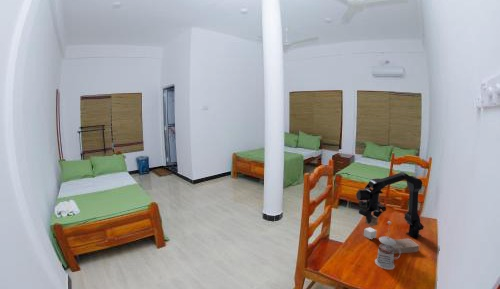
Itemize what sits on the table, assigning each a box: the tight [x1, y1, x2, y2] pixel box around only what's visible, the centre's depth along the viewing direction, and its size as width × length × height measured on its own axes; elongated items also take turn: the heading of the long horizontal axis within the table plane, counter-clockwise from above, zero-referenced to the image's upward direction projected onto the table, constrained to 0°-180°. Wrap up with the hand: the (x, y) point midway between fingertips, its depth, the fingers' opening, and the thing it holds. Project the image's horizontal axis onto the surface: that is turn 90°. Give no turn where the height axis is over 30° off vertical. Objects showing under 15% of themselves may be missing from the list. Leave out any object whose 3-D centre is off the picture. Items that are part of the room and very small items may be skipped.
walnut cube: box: [364, 213, 379, 227], centre depth 166 cm, size 5×5×5 cm
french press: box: [374, 220, 402, 270], centre depth 139 cm, size 10×12×25 cm
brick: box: [391, 238, 420, 255], centre depth 155 cm, size 17×8×5 cm, turn 96°
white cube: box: [363, 226, 377, 240], centre depth 168 cm, size 5×5×5 cm
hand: (371, 222), depth 167 cm, fingers closed on walnut cube, 5 cm apart
